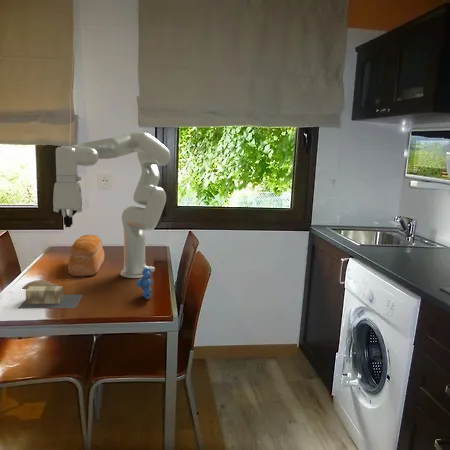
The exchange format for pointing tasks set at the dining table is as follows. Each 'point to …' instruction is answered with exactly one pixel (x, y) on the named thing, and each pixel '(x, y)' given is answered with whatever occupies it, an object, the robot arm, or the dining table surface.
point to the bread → (86, 256)
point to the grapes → (146, 283)
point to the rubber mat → (67, 302)
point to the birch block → (44, 295)
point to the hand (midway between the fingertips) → (68, 226)
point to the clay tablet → (38, 284)
